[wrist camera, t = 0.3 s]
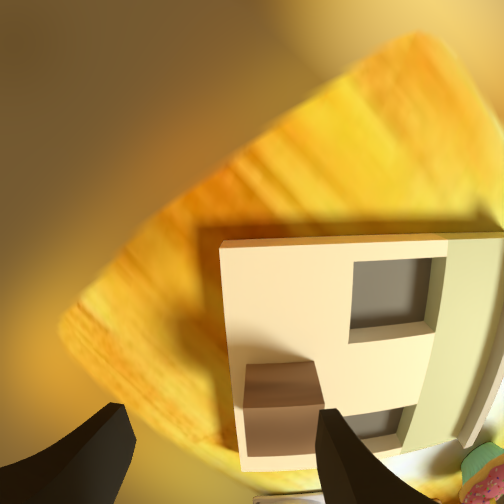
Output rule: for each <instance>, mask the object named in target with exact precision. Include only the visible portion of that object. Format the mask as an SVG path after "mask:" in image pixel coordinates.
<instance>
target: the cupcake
mask: <svg viewBox="0 0 504 504" xmlns="http://www.w3.org/2000/svg"><path fill="white" fill-rule="evenodd" d="M461 470H462V480H463V486H462V488H461V490H460V491H459V493H458V495H459V499H460V502H461V504H496V501H497V500H498V499H499V498H500V497H502V495H503V494H504V449H502V448H500V447H499V446H497V445H496V444H494V443H493V442H487V443H485V444H482V445H481V446H479V447H477V448H476V449H475V450H473V451H472V452H471V453H470V454H469V455H468V456H467V457H466V458H465V459H464V461H463V462H462V464H461Z"/></svg>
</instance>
